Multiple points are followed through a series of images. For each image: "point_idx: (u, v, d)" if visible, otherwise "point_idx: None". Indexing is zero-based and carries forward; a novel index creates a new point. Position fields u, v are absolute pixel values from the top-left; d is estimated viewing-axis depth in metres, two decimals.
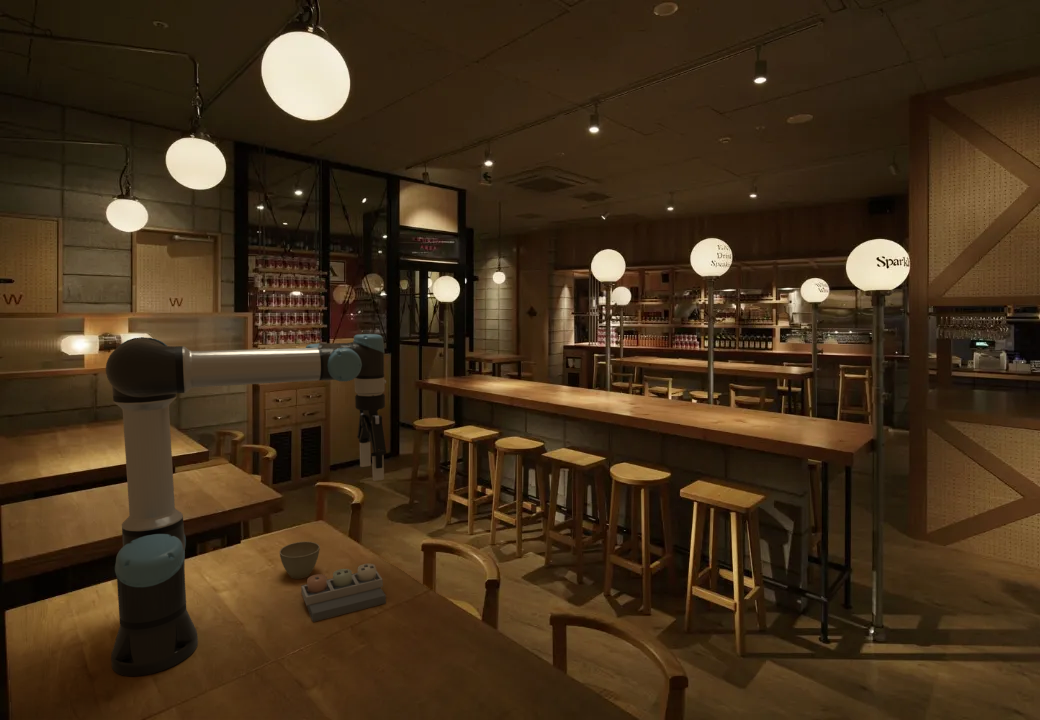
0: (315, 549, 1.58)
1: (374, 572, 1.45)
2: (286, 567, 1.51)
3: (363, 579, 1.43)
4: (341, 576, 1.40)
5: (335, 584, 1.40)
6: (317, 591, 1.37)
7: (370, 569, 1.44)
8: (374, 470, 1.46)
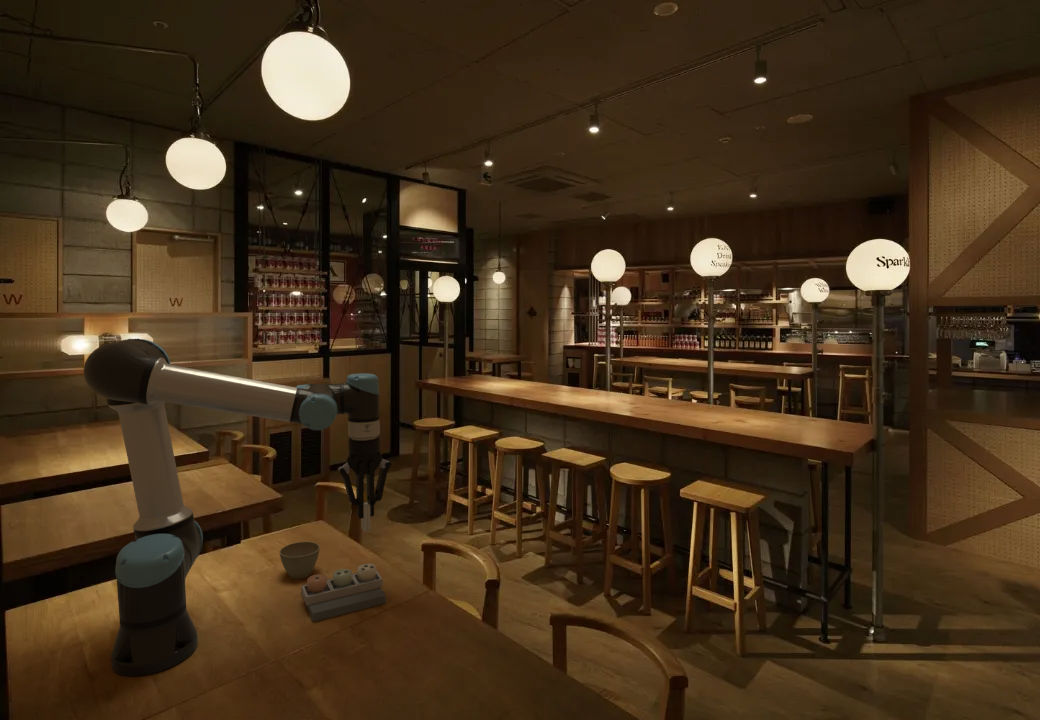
0: (315, 549, 1.58)
1: (374, 572, 1.45)
2: (286, 567, 1.51)
3: (363, 579, 1.43)
4: (341, 576, 1.40)
5: (335, 584, 1.40)
6: (317, 591, 1.37)
7: (370, 569, 1.44)
8: (361, 517, 1.44)
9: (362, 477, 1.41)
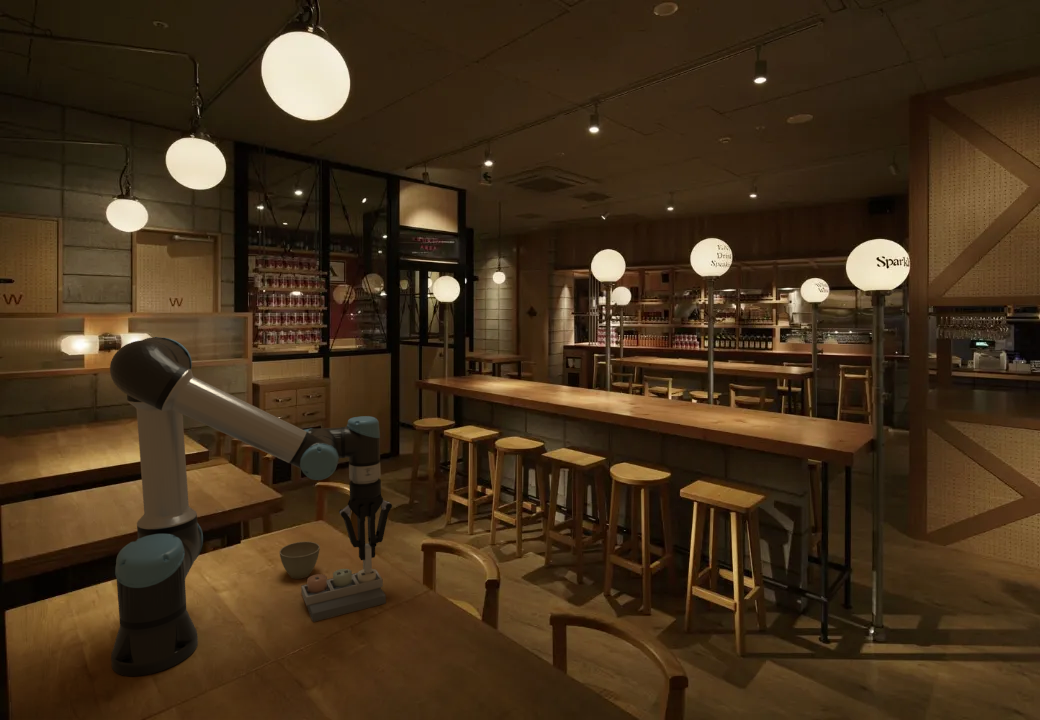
0: (315, 549, 1.58)
1: (374, 577, 1.45)
2: (286, 567, 1.51)
3: None
4: (341, 576, 1.40)
5: (335, 584, 1.40)
6: (317, 591, 1.37)
7: (370, 574, 1.44)
8: None
9: (363, 520, 1.42)
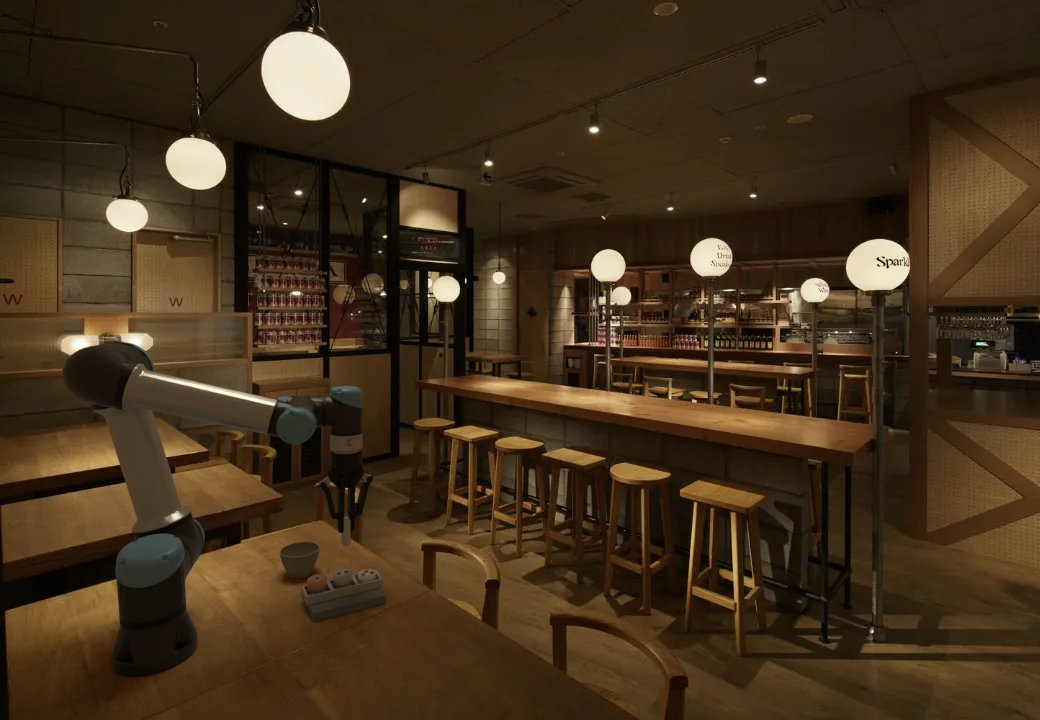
0: (315, 549, 1.58)
1: (374, 577, 1.45)
2: (286, 567, 1.51)
3: None
4: (341, 576, 1.40)
5: (335, 584, 1.40)
6: (317, 591, 1.37)
7: (370, 575, 1.44)
8: None
9: (343, 491, 1.39)
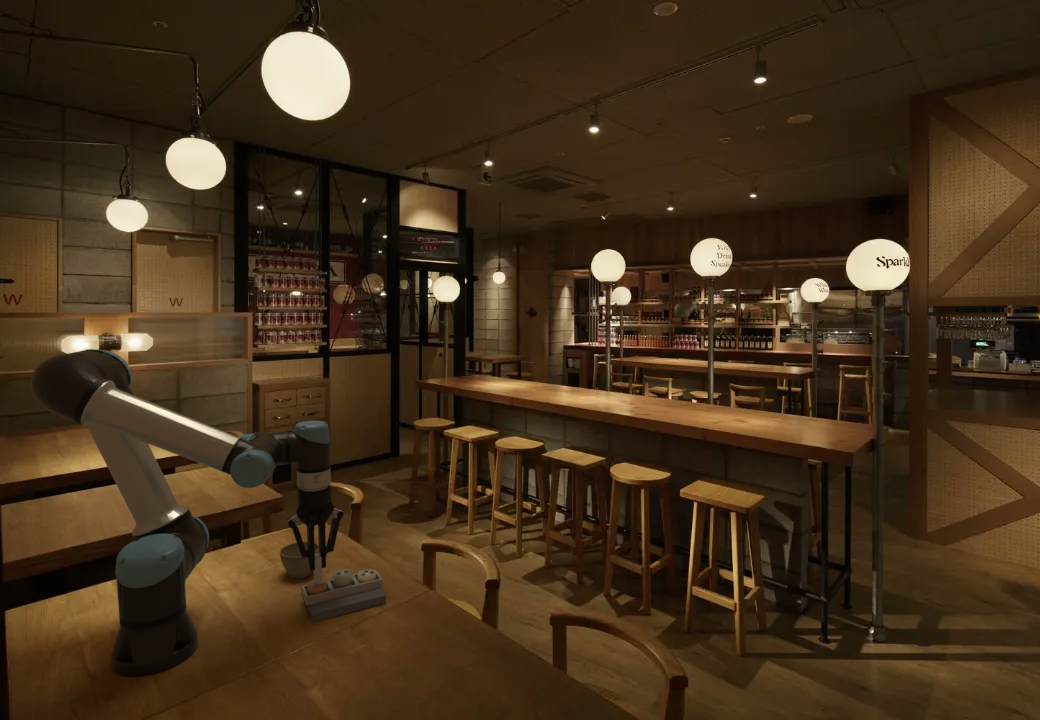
0: (315, 549, 1.58)
1: (374, 577, 1.45)
2: (286, 567, 1.51)
3: None
4: (341, 576, 1.40)
5: (335, 584, 1.40)
6: None
7: (370, 575, 1.44)
8: (313, 569, 1.39)
9: (312, 529, 1.36)
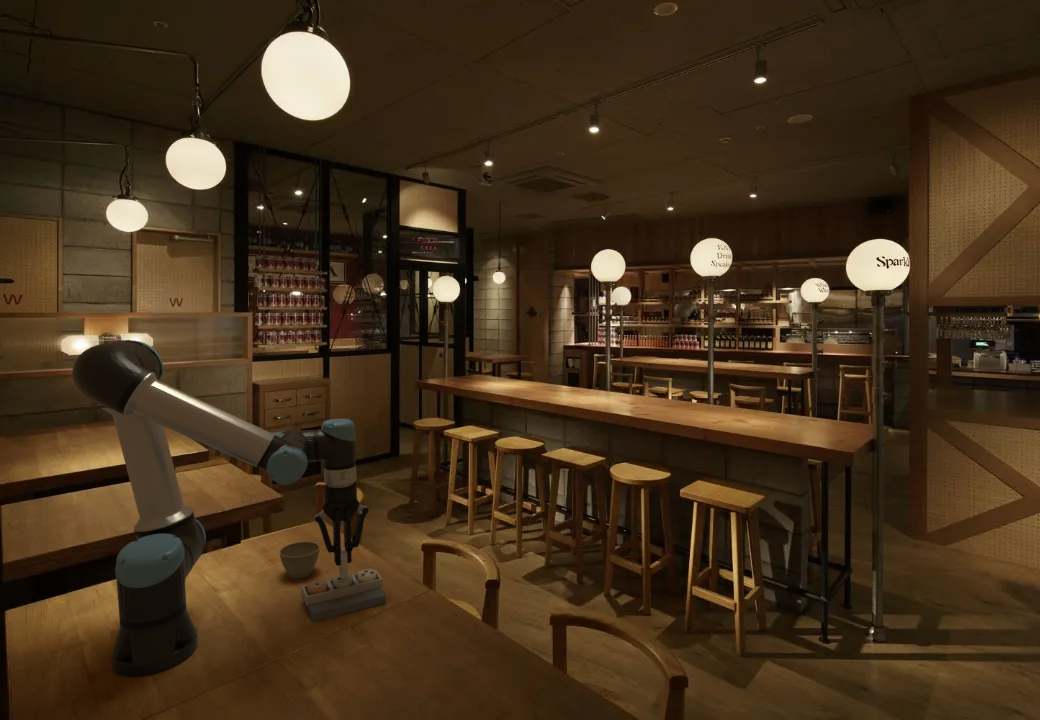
0: (315, 549, 1.58)
1: (374, 577, 1.45)
2: (286, 567, 1.51)
3: None
4: (341, 581, 1.40)
5: None
6: None
7: (370, 575, 1.44)
8: None
9: (338, 524, 1.39)
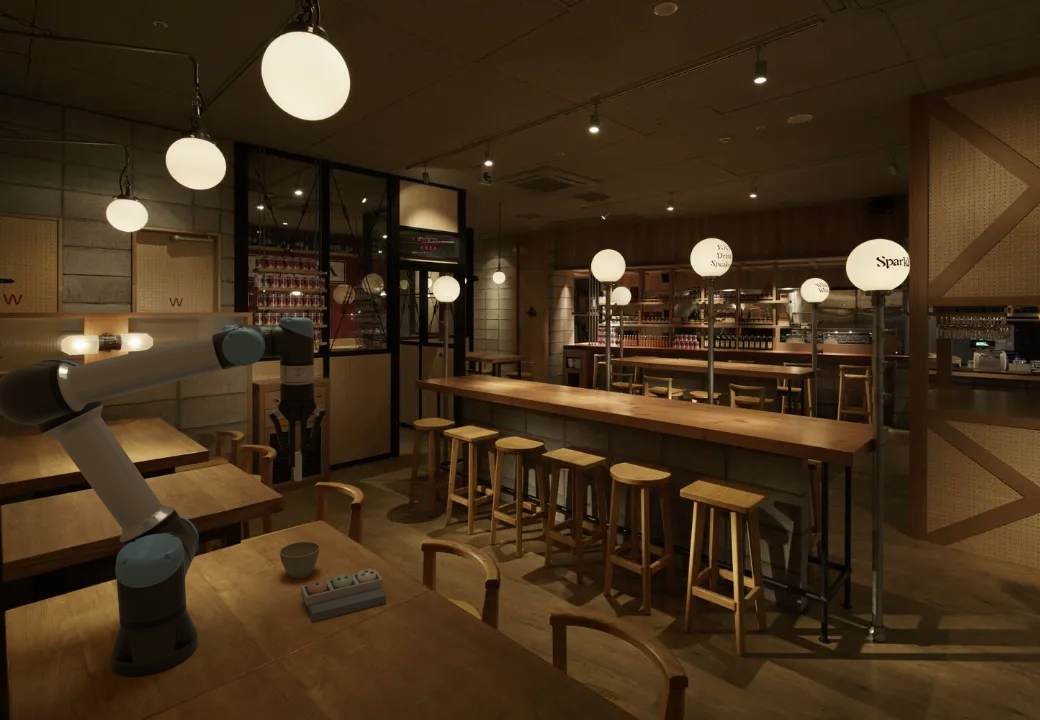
0: (315, 549, 1.58)
1: (374, 577, 1.45)
2: (286, 567, 1.51)
3: None
4: (341, 582, 1.40)
5: None
6: None
7: (370, 575, 1.44)
8: None
9: (293, 424, 1.36)
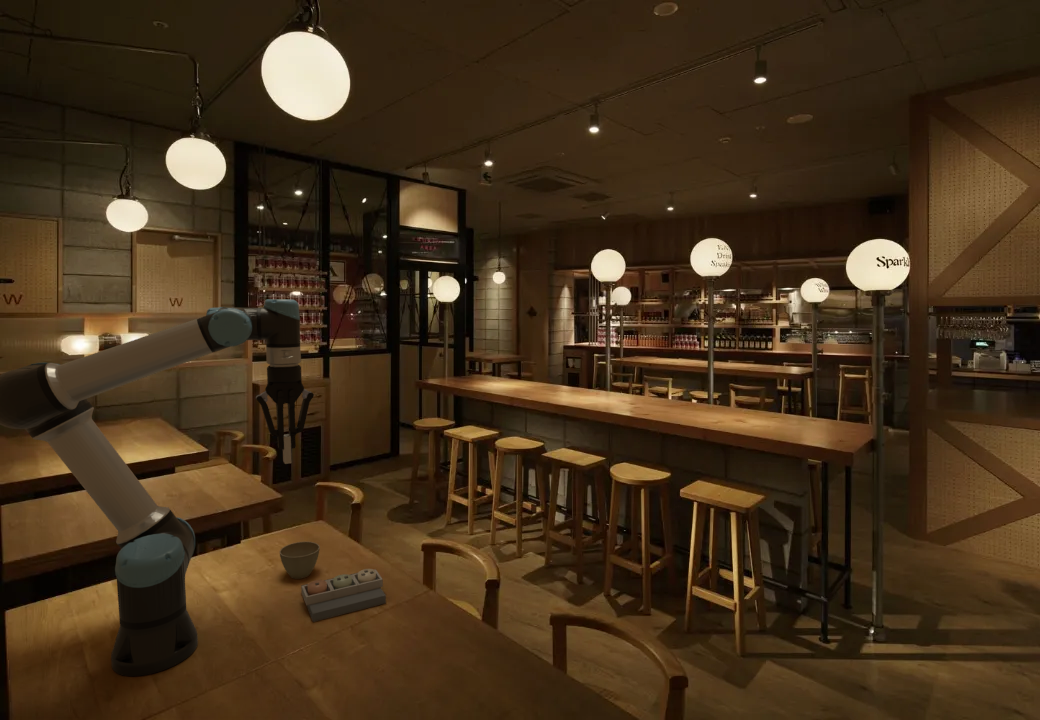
0: (315, 549, 1.58)
1: (374, 577, 1.45)
2: (286, 567, 1.51)
3: None
4: (341, 582, 1.40)
5: None
6: None
7: (370, 575, 1.44)
8: (283, 450, 1.39)
9: (281, 406, 1.35)
